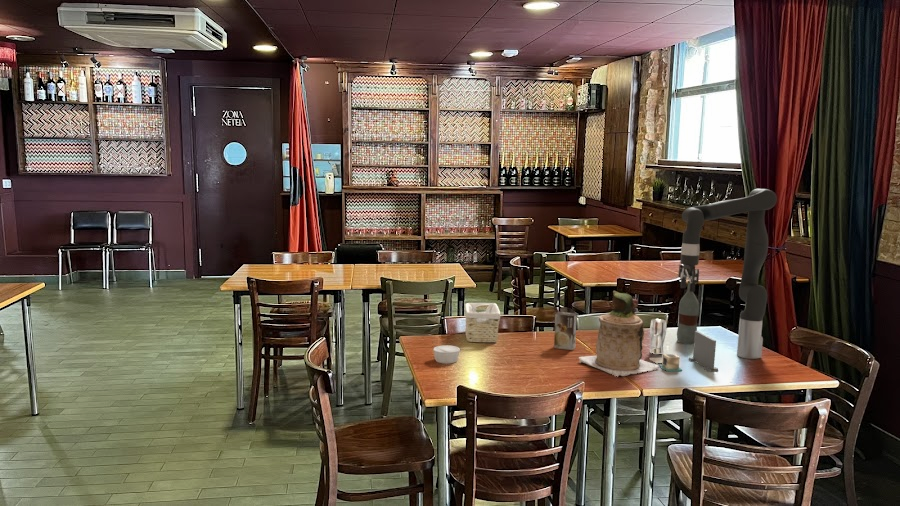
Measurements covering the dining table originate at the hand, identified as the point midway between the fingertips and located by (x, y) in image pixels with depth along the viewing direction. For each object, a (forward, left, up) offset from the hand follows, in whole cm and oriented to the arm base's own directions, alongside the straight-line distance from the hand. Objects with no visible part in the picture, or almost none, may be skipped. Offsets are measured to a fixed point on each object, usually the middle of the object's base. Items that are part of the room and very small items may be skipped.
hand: (687, 289), depth 297 cm
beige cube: (+14, +18, -30) cm, 37 cm away
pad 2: (+14, +18, -30) cm, 38 cm away
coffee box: (+50, -15, -30) cm, 60 cm away
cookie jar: (+35, +13, -30) cm, 48 cm away
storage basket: (+86, -35, -30) cm, 97 cm away
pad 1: (+14, +8, -30) cm, 34 cm away
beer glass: (+10, -5, -30) cm, 32 cm away
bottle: (-13, -23, -30) cm, 40 cm away
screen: (-2, +14, -30) cm, 33 cm away
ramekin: (+107, +3, -30) cm, 111 cm away
